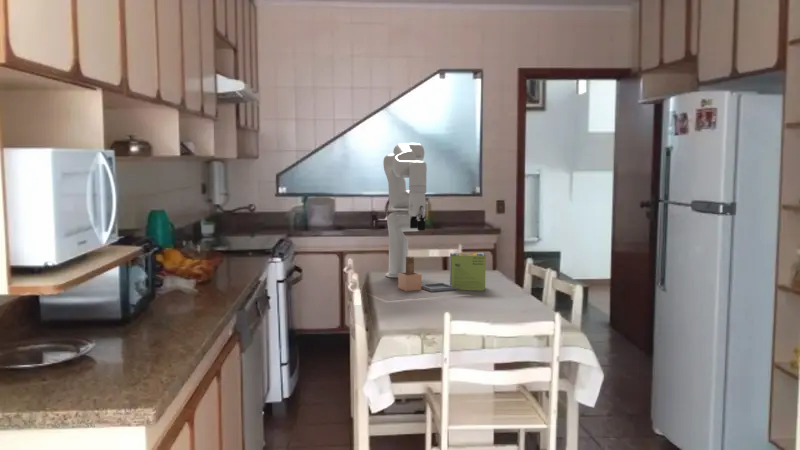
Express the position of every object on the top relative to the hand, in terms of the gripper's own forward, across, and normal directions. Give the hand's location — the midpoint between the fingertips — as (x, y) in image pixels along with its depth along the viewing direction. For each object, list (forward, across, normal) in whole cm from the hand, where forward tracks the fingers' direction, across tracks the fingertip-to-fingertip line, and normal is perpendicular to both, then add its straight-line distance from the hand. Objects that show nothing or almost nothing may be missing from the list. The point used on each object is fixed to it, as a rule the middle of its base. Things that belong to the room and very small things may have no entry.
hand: (417, 229), depth 316 cm
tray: (+27, +2, +9) cm, 29 cm away
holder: (+27, -2, -3) cm, 27 cm away
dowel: (+26, -2, -3) cm, 27 cm away
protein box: (+27, 0, +24) cm, 36 cm away
